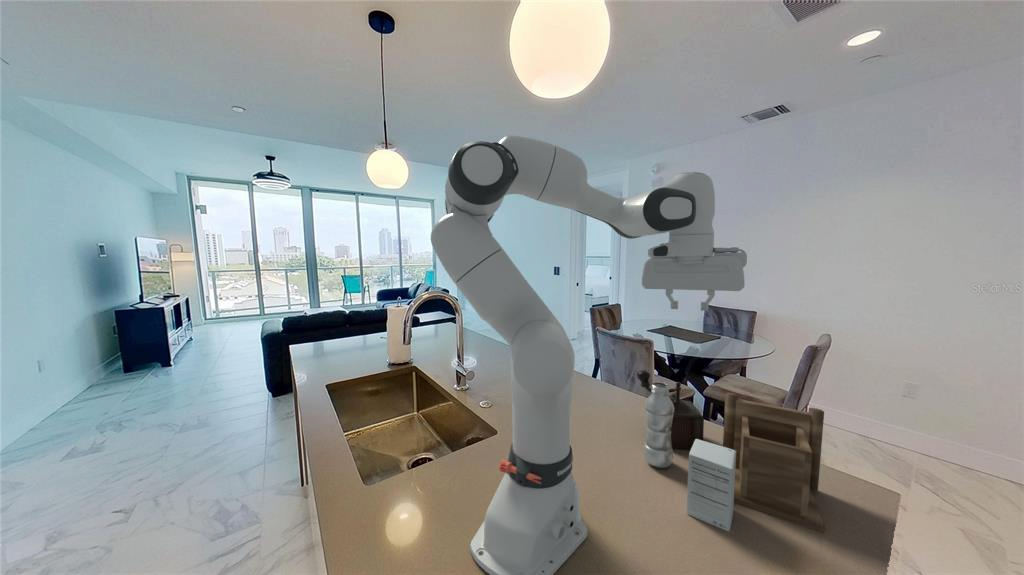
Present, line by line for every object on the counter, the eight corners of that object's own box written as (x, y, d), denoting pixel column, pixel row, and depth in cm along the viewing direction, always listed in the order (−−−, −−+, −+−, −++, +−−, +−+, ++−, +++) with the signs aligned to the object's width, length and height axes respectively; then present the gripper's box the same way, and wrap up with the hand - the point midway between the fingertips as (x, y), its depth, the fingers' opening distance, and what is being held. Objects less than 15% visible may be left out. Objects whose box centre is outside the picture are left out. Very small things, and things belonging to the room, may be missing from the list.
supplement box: (692, 493, 71) (695, 437, 69) (734, 509, 66) (737, 450, 65) (685, 514, 65) (687, 453, 64) (729, 533, 60) (733, 468, 59)
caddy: (833, 535, 60) (841, 441, 58) (720, 497, 69) (724, 415, 68) (816, 488, 72) (822, 409, 70) (721, 462, 81) (725, 391, 80)
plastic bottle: (678, 472, 77) (681, 390, 76) (649, 472, 78) (651, 390, 76) (665, 455, 84) (668, 380, 82) (639, 455, 84) (641, 380, 82)
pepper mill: (689, 430, 96) (691, 370, 95) (703, 452, 86) (707, 385, 84) (633, 425, 99) (635, 367, 98) (641, 446, 88) (643, 381, 87)
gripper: (745, 247, 71) (743, 310, 72) (644, 250, 81) (644, 305, 83) (749, 246, 66) (746, 314, 67) (640, 250, 76) (640, 309, 77)
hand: (689, 309), depth 75 cm, fingers open, 5 cm apart
